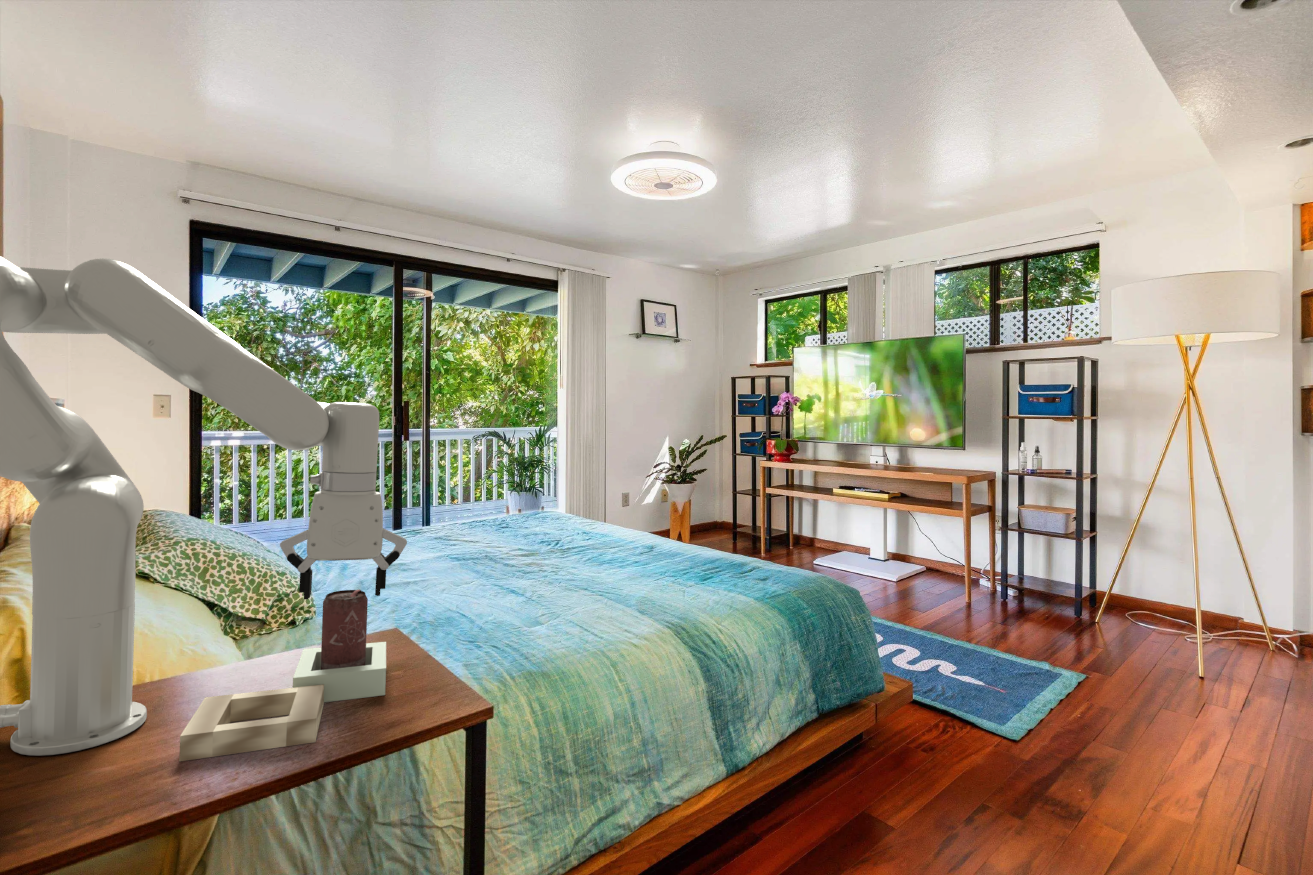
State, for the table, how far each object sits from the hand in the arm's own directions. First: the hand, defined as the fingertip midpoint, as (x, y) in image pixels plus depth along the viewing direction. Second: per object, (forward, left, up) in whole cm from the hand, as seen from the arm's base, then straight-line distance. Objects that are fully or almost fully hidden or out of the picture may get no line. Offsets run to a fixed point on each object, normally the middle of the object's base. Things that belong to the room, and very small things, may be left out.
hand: (343, 595), depth 95 cm
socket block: (-9, -12, -14) cm, 20 cm away
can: (0, 0, -14) cm, 14 cm away
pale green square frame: (0, 0, -14) cm, 14 cm away
